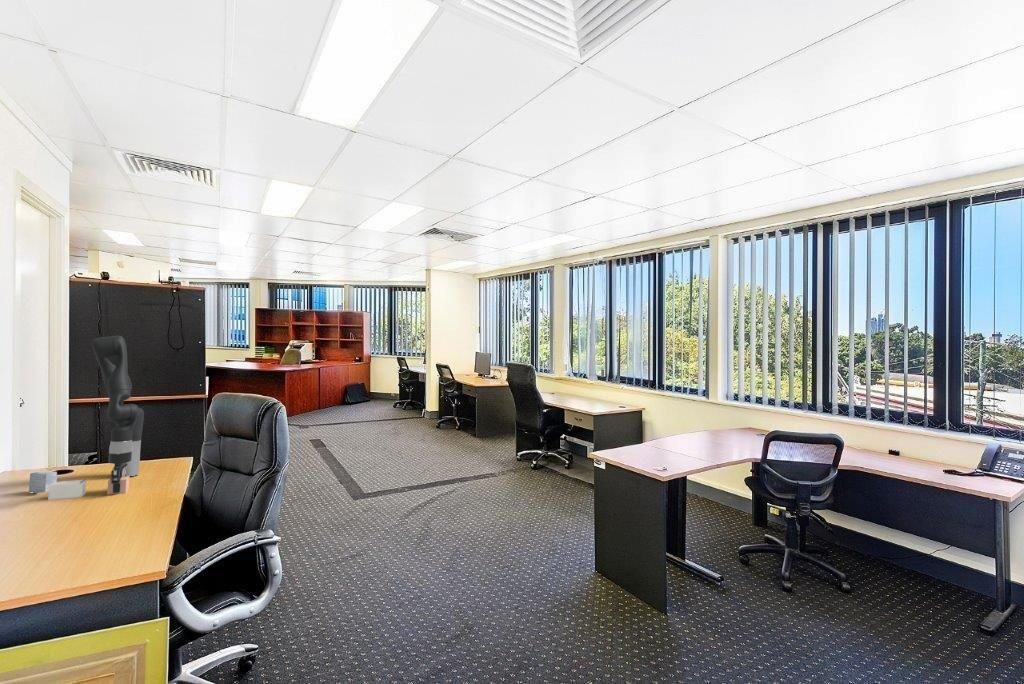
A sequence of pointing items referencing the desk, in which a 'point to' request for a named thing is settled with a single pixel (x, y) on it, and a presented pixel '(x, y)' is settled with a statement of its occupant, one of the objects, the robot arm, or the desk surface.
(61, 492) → the ticket block
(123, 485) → the pink cube block
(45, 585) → the desk surface
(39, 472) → the medicine box
